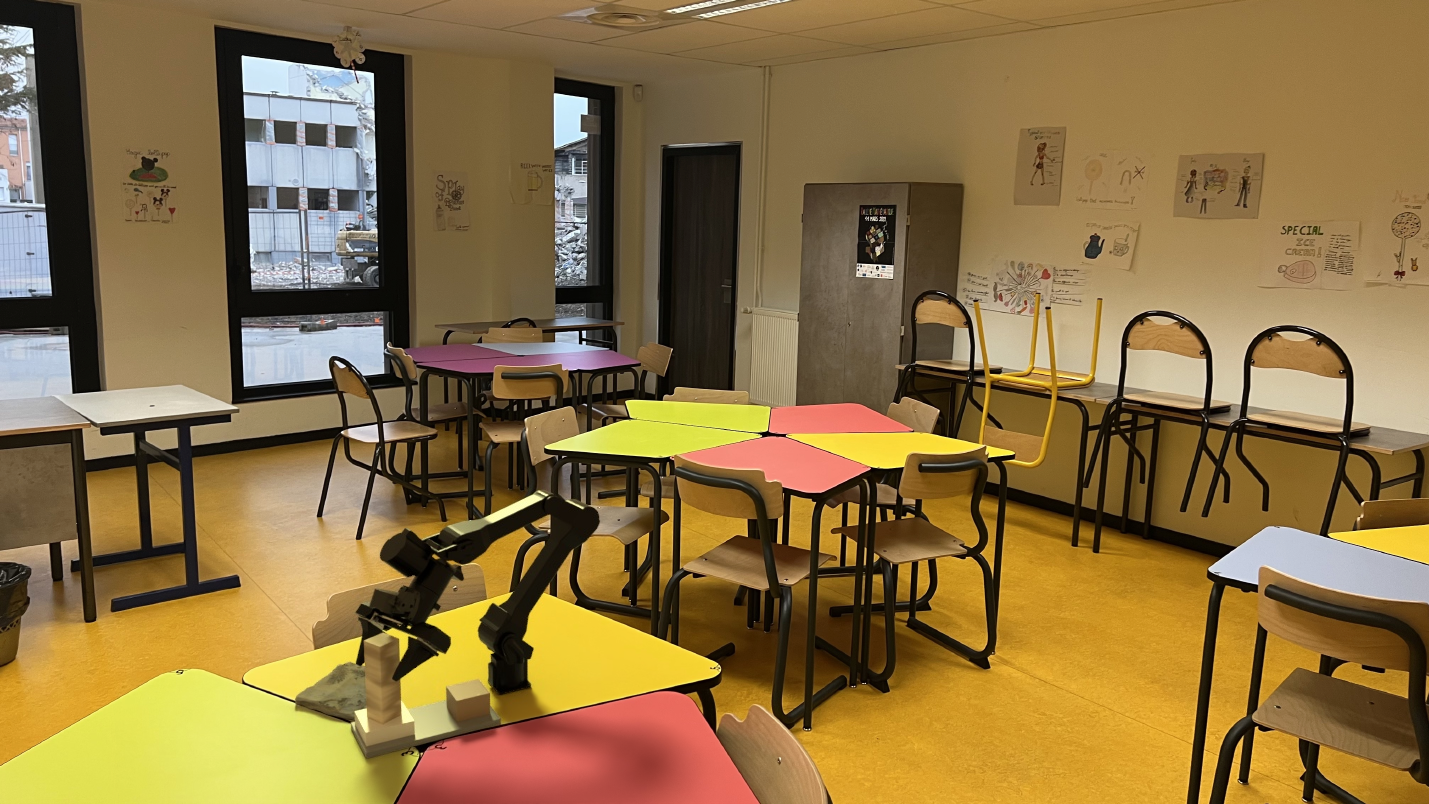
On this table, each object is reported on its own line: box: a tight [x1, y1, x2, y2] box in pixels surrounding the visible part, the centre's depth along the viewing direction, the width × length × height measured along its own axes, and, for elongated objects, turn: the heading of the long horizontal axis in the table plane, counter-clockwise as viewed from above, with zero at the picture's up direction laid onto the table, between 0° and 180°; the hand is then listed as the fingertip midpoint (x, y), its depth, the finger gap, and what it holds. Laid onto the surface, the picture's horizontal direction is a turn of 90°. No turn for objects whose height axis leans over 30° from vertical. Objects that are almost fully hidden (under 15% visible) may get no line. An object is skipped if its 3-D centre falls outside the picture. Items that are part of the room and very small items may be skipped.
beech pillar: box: [364, 632, 402, 724], centre depth 169 cm, size 4×4×14 cm
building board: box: [350, 678, 502, 759], centre depth 174 cm, size 23×11×5 cm, turn 122°
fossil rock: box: [294, 661, 367, 721], centre depth 185 cm, size 18×15×2 cm
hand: (375, 672), depth 168 cm, fingers open, 9 cm apart
